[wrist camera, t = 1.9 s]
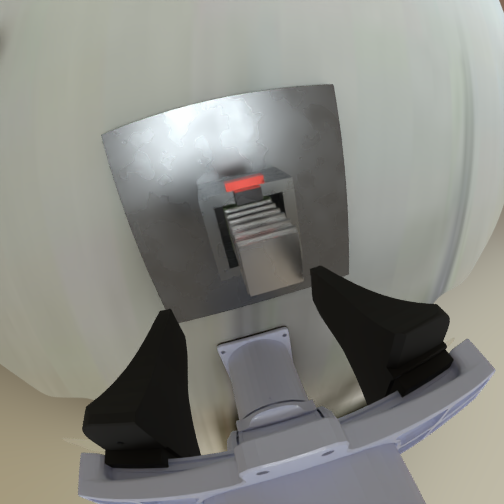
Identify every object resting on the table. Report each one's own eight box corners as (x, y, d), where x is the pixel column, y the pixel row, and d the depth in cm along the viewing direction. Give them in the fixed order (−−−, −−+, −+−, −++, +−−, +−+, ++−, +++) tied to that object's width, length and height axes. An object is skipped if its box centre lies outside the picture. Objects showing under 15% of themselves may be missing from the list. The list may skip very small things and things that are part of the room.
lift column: (268, 226, 22) (306, 282, 15) (229, 237, 22) (249, 298, 14) (261, 188, 20) (300, 228, 13) (219, 198, 20) (235, 246, 13)
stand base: (344, 269, 27) (372, 300, 22) (173, 317, 26) (172, 359, 21) (327, 85, 19) (365, 79, 14) (105, 134, 17) (76, 139, 12)
